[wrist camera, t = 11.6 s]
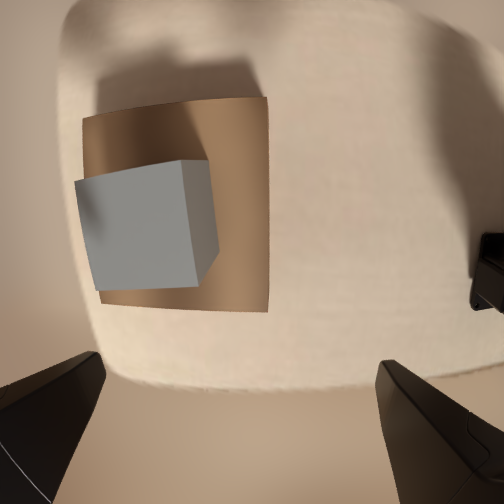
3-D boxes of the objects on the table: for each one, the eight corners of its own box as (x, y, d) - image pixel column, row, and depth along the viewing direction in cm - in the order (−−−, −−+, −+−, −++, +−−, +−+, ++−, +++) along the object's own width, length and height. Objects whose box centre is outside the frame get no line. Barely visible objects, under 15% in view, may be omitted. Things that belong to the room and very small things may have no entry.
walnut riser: (268, 109, 18) (266, 96, 15) (269, 285, 22) (267, 312, 18) (112, 122, 19) (82, 118, 15) (125, 281, 23) (101, 303, 19)
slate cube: (208, 160, 16) (180, 159, 11) (219, 251, 17) (198, 286, 12) (124, 174, 16) (74, 181, 12) (138, 258, 18) (95, 290, 13)
